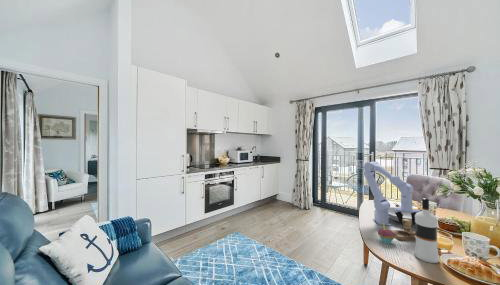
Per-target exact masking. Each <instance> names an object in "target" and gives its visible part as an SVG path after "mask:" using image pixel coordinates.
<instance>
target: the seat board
mask: <svg viewBox="0 0 500 285" xmlns="http://www.w3.org/2000/svg"><path fill="white" fill-rule="evenodd" d="M390 230H391V231H392V232H393V233H394V234H395V239H397V240H398V241H409V242H416V237H415V235H416V230H410V231H404V230H399V229H390Z"/></svg>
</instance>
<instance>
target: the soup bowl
mask: <svg viewBox="0 0 500 285" xmlns="http://www.w3.org/2000/svg"><path fill="white" fill-rule="evenodd" d="M398 208H401V206H400V207H398V206H397V207H396V206H390V208H389V209H388V215H389V219H391V220H393V221H395V222H398V223H399V220H398V218H397V215H396V214H395V212H394V209H398ZM401 213H402V214H403V217H402V224H403V219H407V220H410V221H411V225H413V224H412V216H411V213H403V212H401Z"/></svg>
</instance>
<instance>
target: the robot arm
mask: <svg viewBox="0 0 500 285" xmlns="http://www.w3.org/2000/svg"><path fill="white" fill-rule="evenodd" d="M362 167H363V169H364V170H363V172H364V173H363V174H364V177H365V179H366V182H367V184H368V186H369V188H370V191H371V193H372V195H373V197H374V198H373V205H374V211H373V212H374V218H372V220H373V221H374V222H375V221H376V222H375V223H377V225H380V226H383V222H384V225H385V226H392V224H391V223H390V221H389V219H390V217H389V215H388V209H389V208H390V207H391V203H390V202H389V201H388V199H387V198H386V197H385V196H383V194H382V192H381V191H382V190H381V189H380V187H379V185H378V183H377V180H376V178H375V176H374V174H375V173H376V172H378V173H380V174H381V175H383V176H384V177H386V178H387V179H388V180H389V182H390V183H391V184H392V185H394V186H395V187H396V188H397V189H398V191H399V193H400V208H398V209H394V212H395V214H396V215H397V218H398V220H399V222H398V223H399V224H400V225H403V223H402V217H403V214H402V213H401V212H403V213H411V216H412V224H411V225H415V214H416V213H418V212H421V210H420V209H416V208H413V192H414V190H415V188H414V186H413V185H412V184H411V183H407V182H406V181H404V180H403V179H402V178H401V177H400V176H399V175H398V176H397V175H393V174H392V173H391V172H389V171H388V170H387V169H386V168H385V167H384V166H382V164H381V163H379V162H378V161H368V162H364V164H363V166H362Z"/></svg>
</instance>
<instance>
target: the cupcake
mask: <svg viewBox="0 0 500 285" xmlns="http://www.w3.org/2000/svg"><path fill="white" fill-rule="evenodd" d="M382 226H383V228H379V229H378V230H377V235H378V236H379V238H380V240H381V242H382V243H384V244H387V245H391V244H392V242H393V240H394V239H396V237H395V234H394V233H393V232H392V231H391V230H392V229H387V228H386V227H385V226H386V225H384V222H383V225H382Z"/></svg>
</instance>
